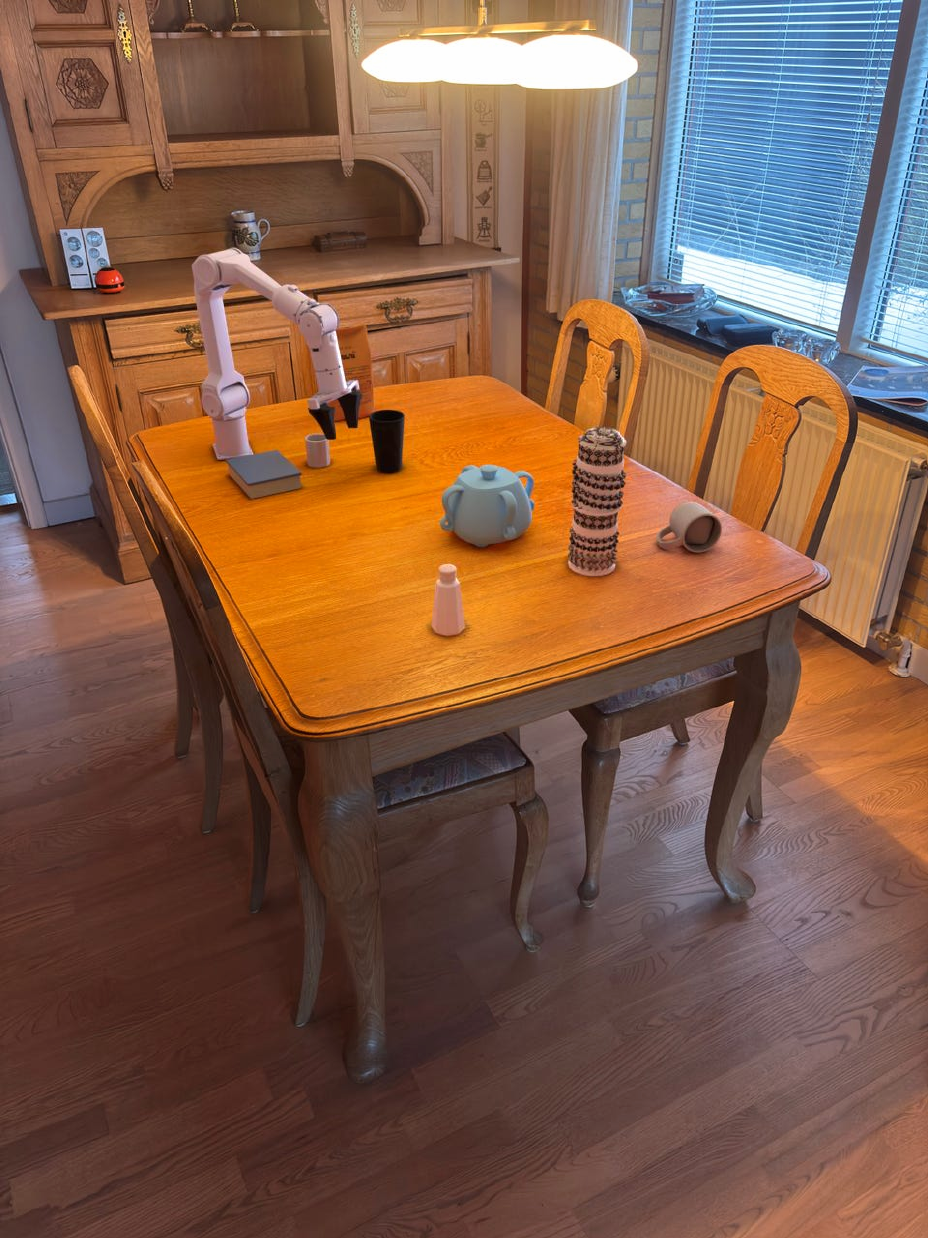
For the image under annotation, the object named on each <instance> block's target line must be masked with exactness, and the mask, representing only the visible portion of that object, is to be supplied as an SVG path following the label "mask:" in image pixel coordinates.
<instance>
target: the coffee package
mask: <svg viewBox="0 0 928 1238" xmlns="http://www.w3.org/2000/svg"><path fill="white" fill-rule="evenodd" d="M368 334H369V333H368V329H367V325H366V323H365V322H360V323H357V324H355V325H352V326H349V327H338V329H337V330H336V336H337V341H338V346H339V351H340V356H341V360H342V366H343V370H344V375H345V380H346V382H347V381H350V380H358V385H359V389H358V390H356V391H361V392H362V399H361V402H360V406H359V412H358V420H360V419H363V418H366V417H369V415H370V414H371V413H373V412H376V410H375V389H374V376H373V374H374V373H373V360H372V359H373V358H372V353H371V352H372V350H371V348H370V342H369V339H368V337H369V336H368ZM327 405H328V406H329V407H335V414H334V422H340V421H343V420H345V416H344V413H343V410H342V407H341V405H340V403H339V401H338V399H335V400H333V401H331V402H329V403H327Z"/></svg>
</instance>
